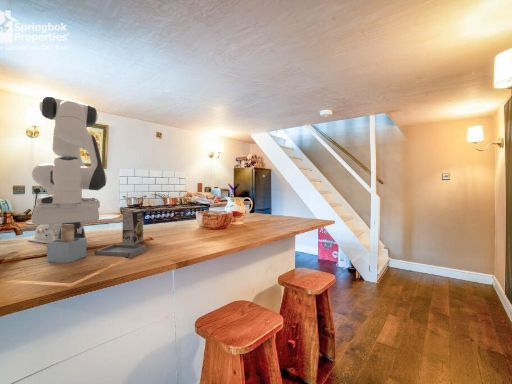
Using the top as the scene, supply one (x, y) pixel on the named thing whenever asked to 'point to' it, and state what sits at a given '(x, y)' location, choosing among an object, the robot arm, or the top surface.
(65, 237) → the dowel
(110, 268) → the top surface
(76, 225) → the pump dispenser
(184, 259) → the top surface
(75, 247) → the slate blue storage bin
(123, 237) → the coffee box
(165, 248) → the top surface
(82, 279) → the top surface
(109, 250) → the tray
